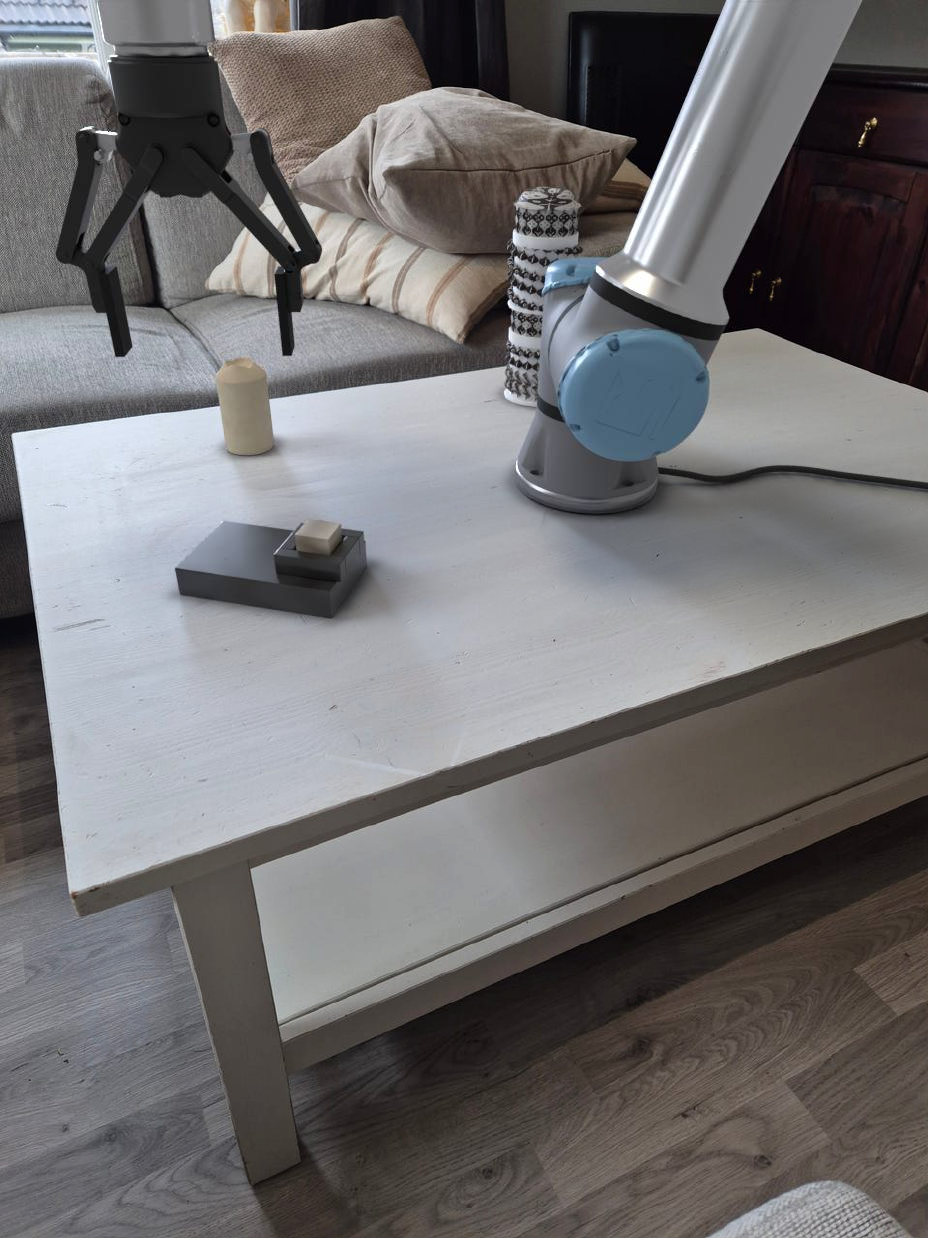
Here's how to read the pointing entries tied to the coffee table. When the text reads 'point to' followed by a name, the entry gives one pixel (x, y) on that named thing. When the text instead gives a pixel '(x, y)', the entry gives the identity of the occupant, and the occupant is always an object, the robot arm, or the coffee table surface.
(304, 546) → the key
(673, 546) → the coffee table surface
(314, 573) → the grey stepped base
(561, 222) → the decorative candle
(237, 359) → the candle
